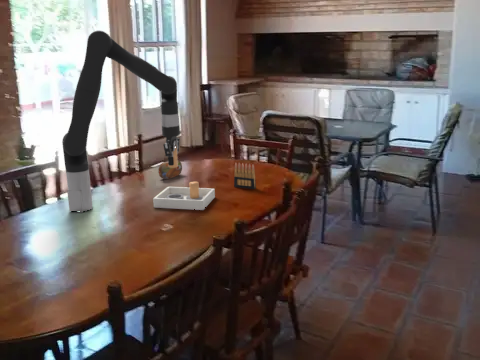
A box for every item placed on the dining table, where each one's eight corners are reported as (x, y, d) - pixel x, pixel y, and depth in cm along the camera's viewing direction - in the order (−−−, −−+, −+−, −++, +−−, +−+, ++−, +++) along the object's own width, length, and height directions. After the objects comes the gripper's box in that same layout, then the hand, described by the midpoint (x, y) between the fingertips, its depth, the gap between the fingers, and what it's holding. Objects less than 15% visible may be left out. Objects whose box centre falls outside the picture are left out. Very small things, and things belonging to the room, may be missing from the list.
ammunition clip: (256, 188, 255) (255, 163, 252) (254, 189, 254) (254, 164, 251) (235, 185, 260) (235, 161, 257) (234, 186, 258) (233, 162, 255)
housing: (203, 210, 226) (202, 189, 224) (153, 207, 231) (152, 187, 229) (214, 197, 243) (214, 177, 241) (168, 195, 248) (167, 176, 246)
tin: (162, 180, 272) (161, 164, 270) (157, 180, 274) (156, 163, 272) (182, 174, 283) (182, 158, 281) (178, 173, 285) (177, 157, 283)
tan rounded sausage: (176, 167, 232) (175, 149, 230) (167, 167, 233) (166, 149, 231) (179, 165, 236) (178, 147, 233) (170, 165, 237) (169, 147, 234)
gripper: (168, 121, 237) (170, 159, 241) (156, 127, 223) (158, 167, 228) (184, 121, 235) (186, 160, 240) (173, 127, 222) (175, 168, 226)
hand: (173, 163), depth 234 cm, fingers closed on tan rounded sausage, 4 cm apart
